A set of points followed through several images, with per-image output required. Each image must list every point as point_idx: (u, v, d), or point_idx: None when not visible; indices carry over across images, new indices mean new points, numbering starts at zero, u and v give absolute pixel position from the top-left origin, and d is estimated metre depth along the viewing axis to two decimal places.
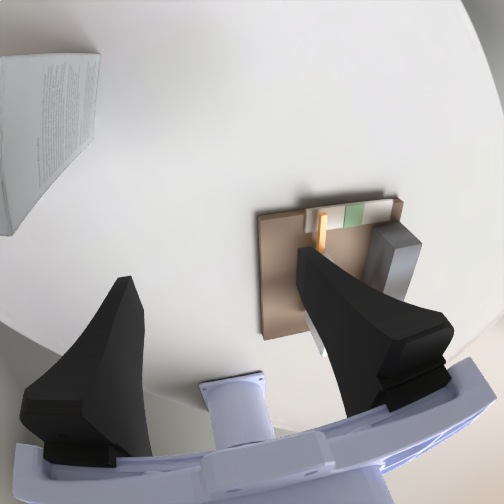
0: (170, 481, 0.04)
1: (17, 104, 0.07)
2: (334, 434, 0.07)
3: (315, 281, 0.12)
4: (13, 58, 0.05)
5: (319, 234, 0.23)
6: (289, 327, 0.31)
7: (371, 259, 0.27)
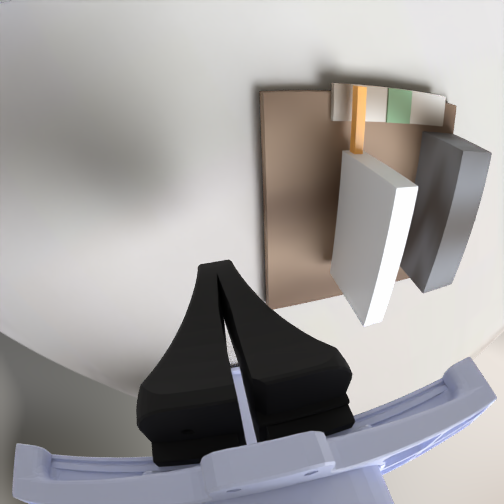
0: (170, 481, 0.04)
1: None
2: (334, 434, 0.07)
3: (223, 298, 0.11)
4: None
5: (354, 118, 0.13)
6: (306, 289, 0.21)
7: (423, 181, 0.17)
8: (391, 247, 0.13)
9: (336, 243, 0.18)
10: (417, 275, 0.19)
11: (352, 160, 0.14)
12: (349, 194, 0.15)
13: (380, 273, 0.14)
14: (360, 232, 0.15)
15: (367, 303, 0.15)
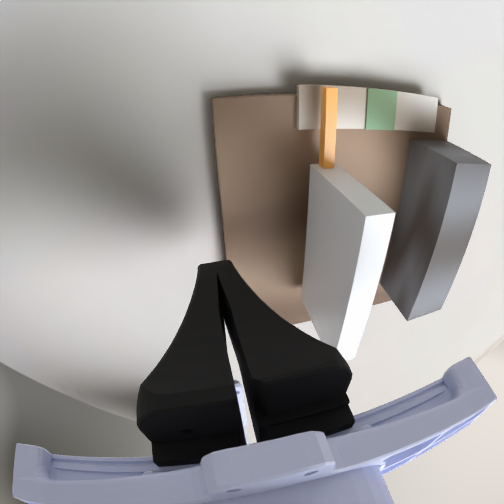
0: (170, 481, 0.04)
1: None
2: (334, 434, 0.07)
3: (223, 298, 0.11)
4: None
5: (323, 126, 0.12)
6: None
7: (410, 196, 0.15)
8: (360, 284, 0.11)
9: (306, 268, 0.16)
10: (401, 300, 0.17)
11: (319, 176, 0.12)
12: (317, 215, 0.13)
13: (348, 311, 0.12)
14: (328, 261, 0.13)
15: (335, 341, 0.13)
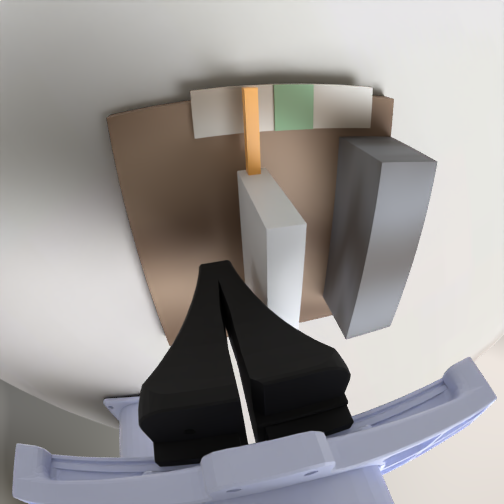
0: (170, 481, 0.04)
1: None
2: (334, 434, 0.07)
3: (222, 298, 0.11)
4: None
5: (245, 130, 0.11)
6: None
7: (341, 202, 0.14)
8: (277, 300, 0.10)
9: (245, 278, 0.15)
10: (340, 317, 0.17)
11: (242, 184, 0.12)
12: (244, 225, 0.13)
13: None
14: (254, 274, 0.12)
15: None
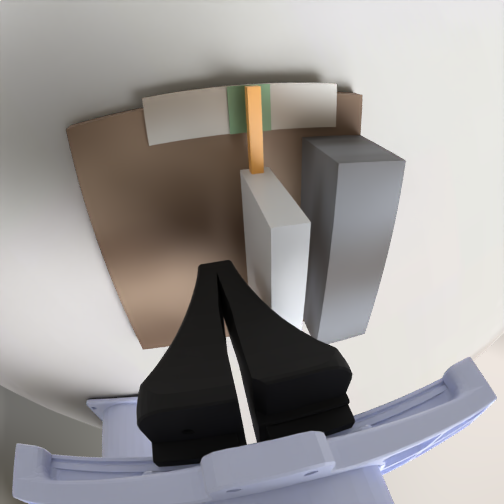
0: (170, 481, 0.04)
1: None
2: (334, 434, 0.07)
3: (223, 298, 0.11)
4: None
5: (248, 128, 0.11)
6: None
7: (306, 205, 0.14)
8: (281, 300, 0.10)
9: (248, 278, 0.15)
10: (310, 324, 0.16)
11: (245, 183, 0.12)
12: (248, 224, 0.13)
13: None
14: (257, 273, 0.12)
15: None
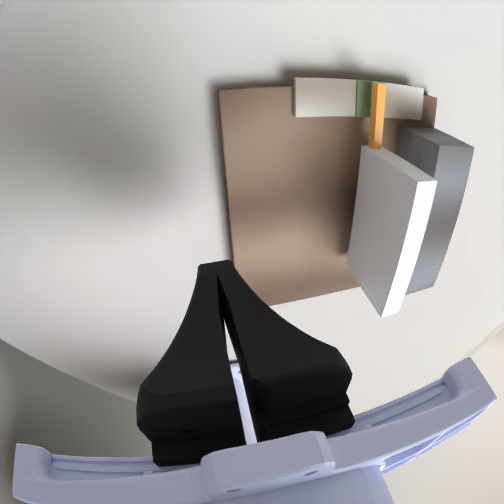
0: (170, 481, 0.04)
1: None
2: (334, 434, 0.07)
3: (223, 298, 0.11)
4: None
5: (374, 114, 0.13)
6: (278, 290, 0.21)
7: None
8: (410, 239, 0.13)
9: (353, 236, 0.18)
10: None
11: (372, 155, 0.14)
12: (368, 187, 0.15)
13: (399, 264, 0.14)
14: (379, 225, 0.15)
15: (385, 294, 0.15)
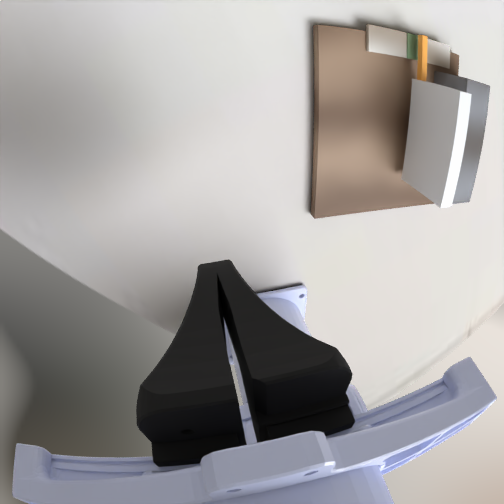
0: (170, 481, 0.04)
1: None
2: (334, 434, 0.07)
3: (223, 298, 0.11)
4: None
5: (420, 56, 0.16)
6: (347, 199, 0.23)
7: None
8: (458, 135, 0.15)
9: (408, 150, 0.20)
10: None
11: (421, 83, 0.16)
12: (420, 107, 0.17)
13: (452, 156, 0.16)
14: (432, 132, 0.17)
15: (442, 185, 0.17)
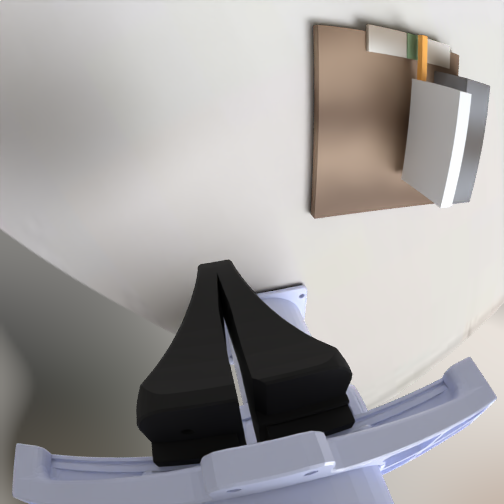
0: (170, 481, 0.04)
1: None
2: (334, 434, 0.07)
3: (223, 298, 0.11)
4: None
5: (420, 56, 0.16)
6: (347, 199, 0.23)
7: None
8: (458, 135, 0.15)
9: (408, 150, 0.20)
10: None
11: (421, 83, 0.16)
12: (420, 107, 0.17)
13: (452, 156, 0.16)
14: (432, 132, 0.17)
15: (442, 185, 0.17)
